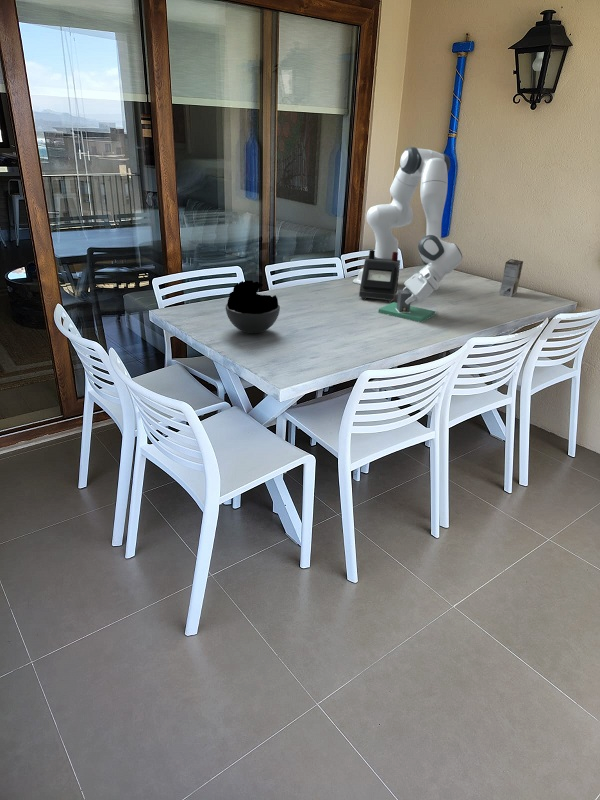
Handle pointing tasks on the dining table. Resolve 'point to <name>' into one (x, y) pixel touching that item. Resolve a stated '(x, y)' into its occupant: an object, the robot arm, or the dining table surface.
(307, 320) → the dining table surface
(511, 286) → the coffee box
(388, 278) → the voltmeter
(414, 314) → the header board
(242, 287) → the coal bowl
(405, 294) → the block
